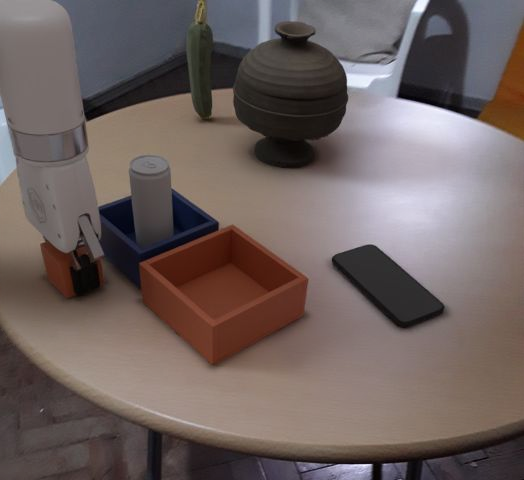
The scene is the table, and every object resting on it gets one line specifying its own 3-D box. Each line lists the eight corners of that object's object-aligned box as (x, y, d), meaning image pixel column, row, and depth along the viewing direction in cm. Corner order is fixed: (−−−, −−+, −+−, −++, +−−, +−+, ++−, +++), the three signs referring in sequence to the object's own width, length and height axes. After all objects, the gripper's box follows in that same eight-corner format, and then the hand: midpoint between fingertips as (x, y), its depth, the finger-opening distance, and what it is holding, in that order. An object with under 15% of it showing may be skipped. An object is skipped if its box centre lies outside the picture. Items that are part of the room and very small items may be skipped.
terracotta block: (67, 298, 74) (60, 264, 71) (47, 277, 77) (39, 243, 73) (104, 283, 77) (99, 249, 73) (83, 263, 79) (78, 229, 76)
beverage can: (156, 265, 79) (149, 178, 71) (128, 250, 81) (119, 164, 73) (182, 248, 82) (178, 163, 74) (155, 234, 84) (149, 150, 75)
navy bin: (143, 292, 76) (139, 254, 72) (93, 247, 82) (87, 210, 78) (218, 258, 82) (219, 221, 78) (167, 219, 88) (165, 183, 84)
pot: (333, 186, 96) (340, 45, 82) (221, 174, 100) (212, 38, 86) (352, 140, 109) (362, 12, 95) (253, 131, 112) (249, 7, 99)
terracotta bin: (212, 365, 68) (212, 327, 64) (142, 301, 75) (138, 262, 71) (303, 315, 74) (308, 278, 71) (231, 261, 81) (232, 224, 78)
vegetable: (203, 127, 109) (202, 0, 95) (183, 121, 111) (179, -5, 97) (217, 119, 112) (218, -6, 98) (197, 112, 114) (195, -11, 100)
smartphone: (402, 325, 73) (328, 255, 82) (400, 331, 74) (327, 261, 82) (449, 307, 76) (372, 241, 85) (447, 312, 77) (371, 247, 85)
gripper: (-22, 115, 67) (15, 256, 79) (56, 181, 58) (83, 328, 70) (43, 99, 70) (69, 236, 83) (126, 159, 62) (140, 302, 74)
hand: (75, 277), depth 76 cm, fingers closed on terracotta block, 5 cm apart
